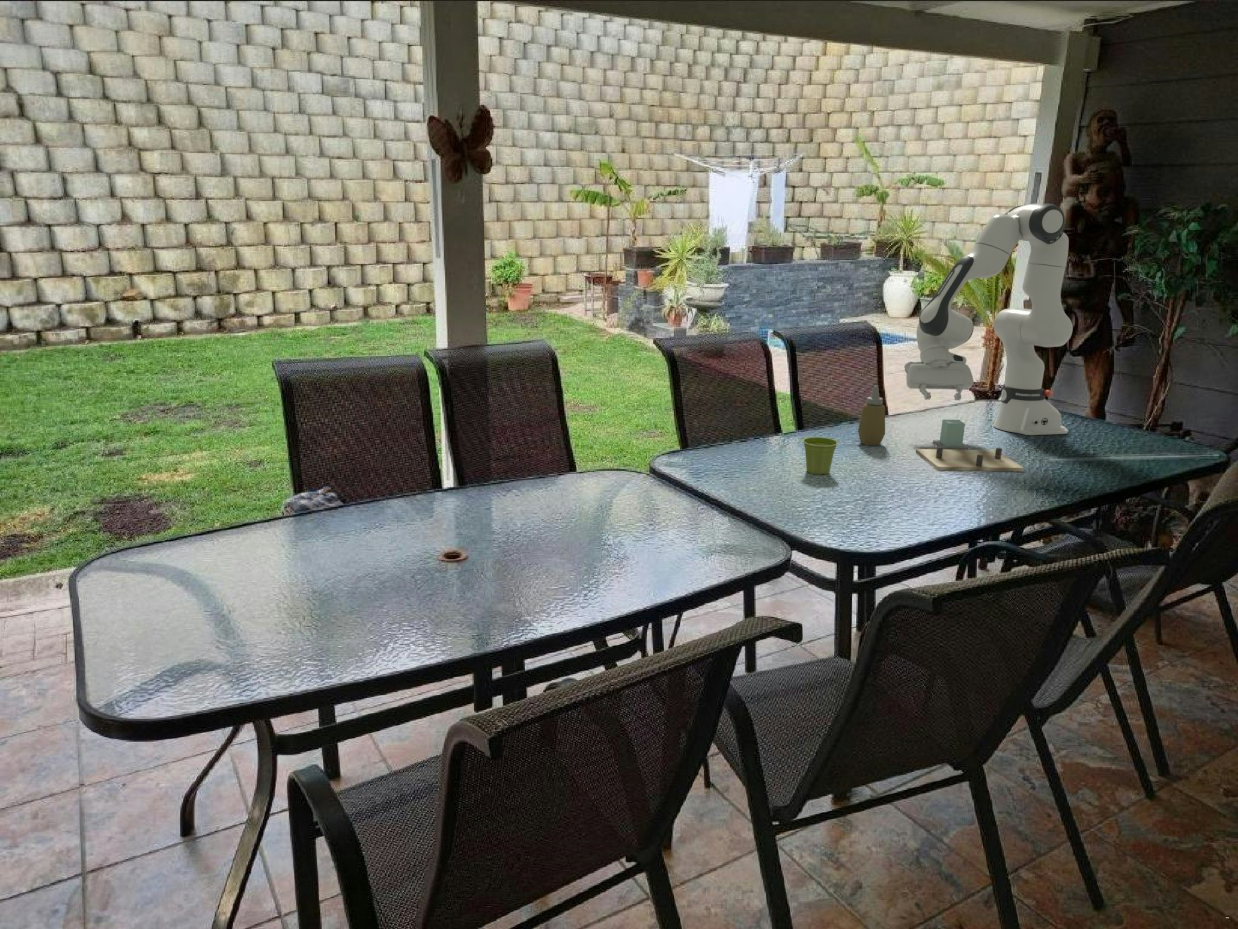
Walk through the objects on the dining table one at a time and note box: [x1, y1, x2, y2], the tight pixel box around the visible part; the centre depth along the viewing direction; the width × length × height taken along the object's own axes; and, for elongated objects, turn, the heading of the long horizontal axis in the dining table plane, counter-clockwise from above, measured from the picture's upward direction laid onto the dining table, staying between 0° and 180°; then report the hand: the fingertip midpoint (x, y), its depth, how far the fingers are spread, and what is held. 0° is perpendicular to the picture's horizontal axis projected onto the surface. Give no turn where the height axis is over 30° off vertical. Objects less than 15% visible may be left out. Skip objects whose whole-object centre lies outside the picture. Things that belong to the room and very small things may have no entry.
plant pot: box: [802, 436, 839, 476], centre depth 235 cm, size 9×9×9 cm
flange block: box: [932, 419, 970, 450], centre depth 262 cm, size 8×8×8 cm
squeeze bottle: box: [857, 385, 886, 447], centre depth 262 cm, size 8×8×18 cm
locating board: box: [915, 446, 1025, 472], centre depth 247 cm, size 24×18×4 cm
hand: (943, 399), depth 269 cm, fingers open, 8 cm apart
